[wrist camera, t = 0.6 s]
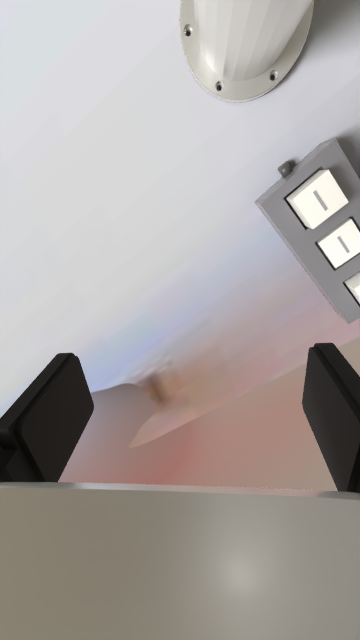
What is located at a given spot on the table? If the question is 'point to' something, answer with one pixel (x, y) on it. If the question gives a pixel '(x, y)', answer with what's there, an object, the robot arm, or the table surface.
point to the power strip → (304, 237)
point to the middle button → (340, 243)
